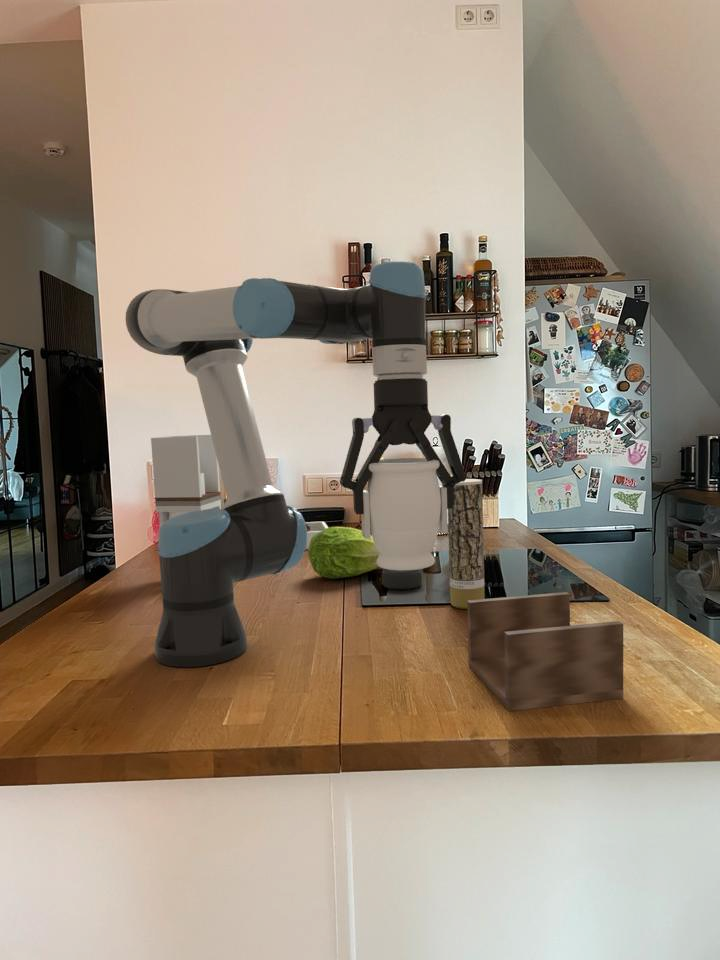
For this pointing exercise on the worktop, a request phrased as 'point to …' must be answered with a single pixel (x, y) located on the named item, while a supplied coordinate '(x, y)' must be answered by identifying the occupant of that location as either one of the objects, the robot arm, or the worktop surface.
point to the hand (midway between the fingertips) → (404, 534)
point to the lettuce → (342, 553)
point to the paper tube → (466, 543)
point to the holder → (543, 652)
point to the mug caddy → (314, 530)
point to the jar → (404, 511)
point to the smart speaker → (401, 578)
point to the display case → (185, 475)
